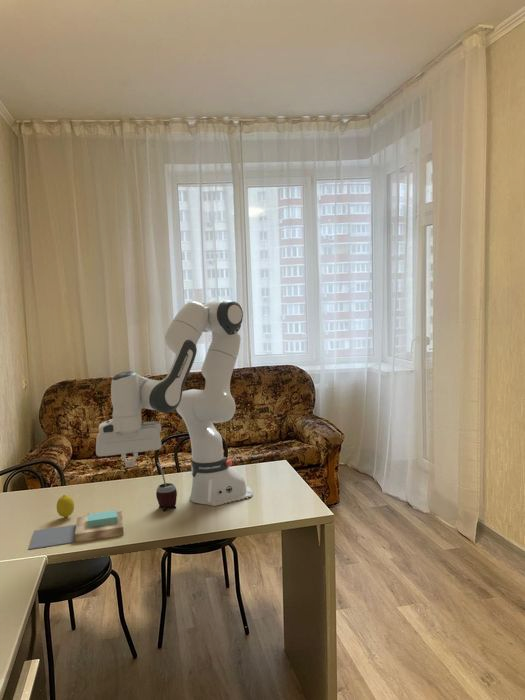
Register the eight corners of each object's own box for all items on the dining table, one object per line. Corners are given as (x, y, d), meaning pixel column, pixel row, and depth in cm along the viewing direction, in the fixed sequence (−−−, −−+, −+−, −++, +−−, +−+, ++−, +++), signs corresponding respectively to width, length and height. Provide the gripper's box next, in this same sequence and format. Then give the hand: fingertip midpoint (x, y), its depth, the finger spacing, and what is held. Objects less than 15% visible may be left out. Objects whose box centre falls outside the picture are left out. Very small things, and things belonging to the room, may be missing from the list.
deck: (122, 518, 179) (121, 511, 178) (123, 534, 165) (123, 527, 165) (77, 525, 175) (77, 517, 175) (75, 542, 161) (74, 534, 161)
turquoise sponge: (117, 516, 174) (116, 510, 174) (117, 522, 168) (117, 516, 168) (88, 520, 172) (87, 514, 172) (87, 527, 166) (87, 521, 166)
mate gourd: (173, 512, 182) (170, 468, 181) (151, 511, 184) (148, 468, 183) (181, 504, 190) (178, 462, 188) (160, 503, 191) (157, 462, 190)
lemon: (57, 516, 183) (55, 493, 182) (74, 513, 185) (73, 491, 184) (57, 522, 178) (55, 498, 177) (75, 519, 180) (73, 496, 179)
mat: (77, 525, 175) (77, 524, 175) (75, 542, 161) (75, 541, 161) (34, 531, 171) (34, 530, 171) (28, 549, 158) (28, 548, 158)
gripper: (159, 418, 176) (162, 459, 177) (94, 424, 171) (97, 467, 172) (161, 421, 170) (164, 464, 171) (94, 428, 165) (97, 473, 166)
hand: (130, 466), depth 171 cm, fingers closed
